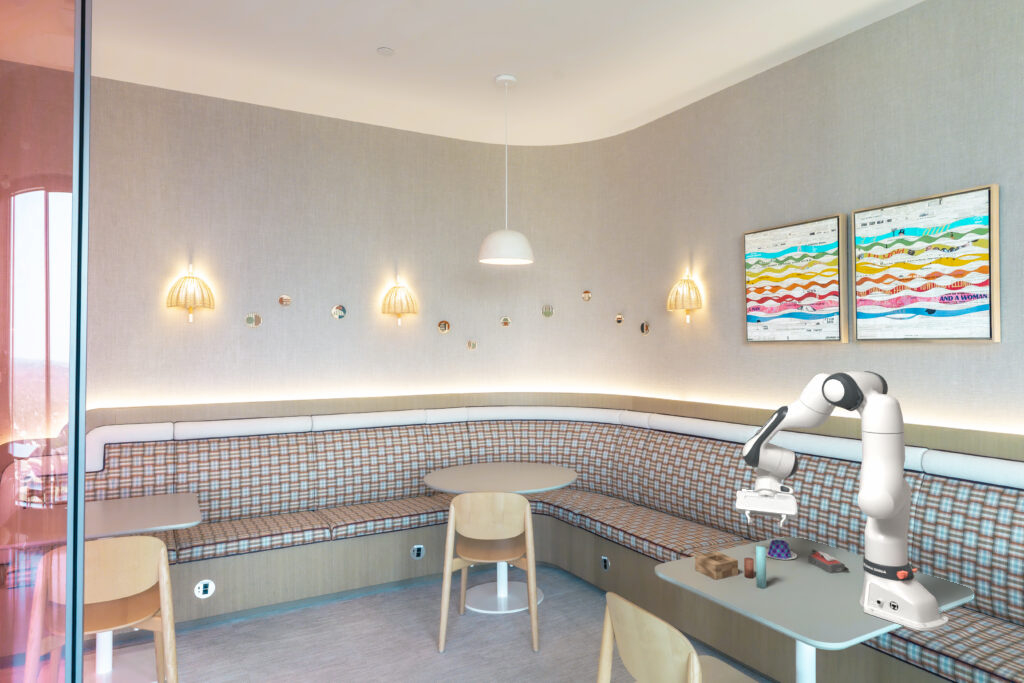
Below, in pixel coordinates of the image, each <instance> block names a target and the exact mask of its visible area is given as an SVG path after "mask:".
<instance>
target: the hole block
mask: <svg viewBox="0 0 1024 683" xmlns="http://www.w3.org/2000/svg"><path fill="white" fill-rule="evenodd" d="M694 570H695V571H696V572H698V573H701V574H702V575H705V576H706V577H708V578H711V579H712V580H715V581H718V580H721V579H726V578H730V577H734V576H739V560H738V559H737V558H735V557H731V556H729V555H726V554H724V553H722V552H719V551H711V552H707V553H702V554H698V555H694Z"/></svg>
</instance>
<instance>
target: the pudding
mask: <svg viewBox="0 0 1024 683" xmlns="http://www.w3.org/2000/svg"><path fill="white" fill-rule="evenodd" d="M766 557H769V558H772V559H776V560H785V561H787V560H793V559H794V560H795V559H796V558H798V554H797V553H795V552H794V551H792V550H790V545H789V543H788V542H787V541H786V540H784V539H773V540H771V541H770V544H769V548H766ZM775 557H776V558H775Z"/></svg>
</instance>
